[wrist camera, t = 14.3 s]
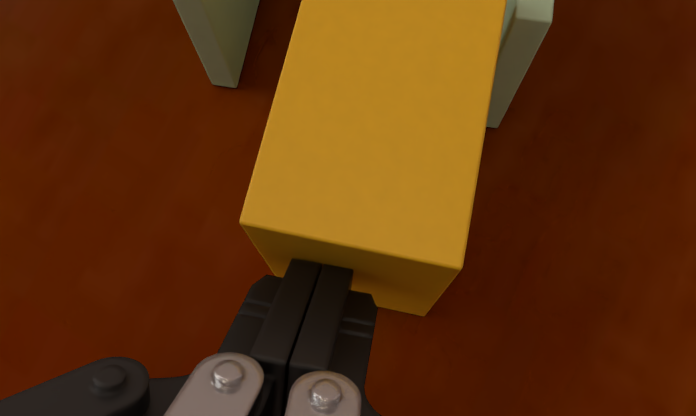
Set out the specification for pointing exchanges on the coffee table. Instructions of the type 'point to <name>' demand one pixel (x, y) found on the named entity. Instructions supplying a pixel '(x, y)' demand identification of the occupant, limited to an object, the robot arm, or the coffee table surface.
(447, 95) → the yellow rectangular block
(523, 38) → the bracket
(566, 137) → the coffee table surface
